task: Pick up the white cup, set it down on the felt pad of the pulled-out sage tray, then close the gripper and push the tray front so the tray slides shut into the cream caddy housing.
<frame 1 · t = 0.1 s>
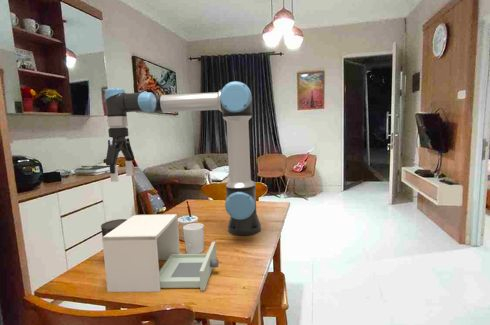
hand: (122, 178, 128), 28 cm above the table, fingers open, 13 cm apart
white cup: (195, 251, 119), on the table
caddy housing: (147, 273, 102), on the table
tray: (190, 263, 101), point 3 cm above the table, slide at 12.0 cm
coffee can: (119, 260, 114), on the table
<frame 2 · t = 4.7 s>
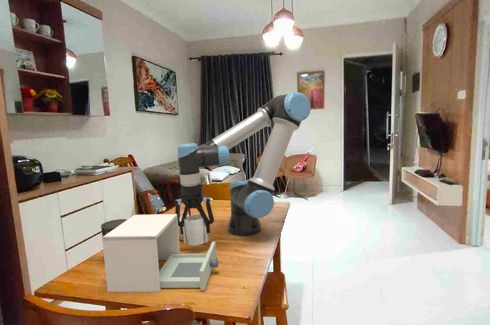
hand: (196, 241, 119), 4 cm above the table, fingers closed on white cup, 8 cm apart
white cup: (196, 242, 119), point 3 cm above the table, touching gripper
everything else where it was.
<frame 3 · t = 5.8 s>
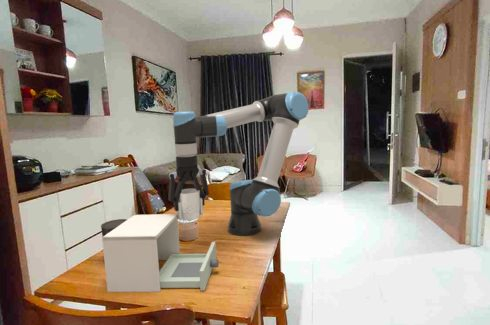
hand: (190, 216, 112), 15 cm above the table, fingers closed on white cup, 8 cm apart
white cup: (190, 218, 113), point 15 cm above the table, touching gripper
everything else where it was.
when the fingers open (3 cm above the table, at t = 8.8 s): white cup stays where it is, resting on tray.
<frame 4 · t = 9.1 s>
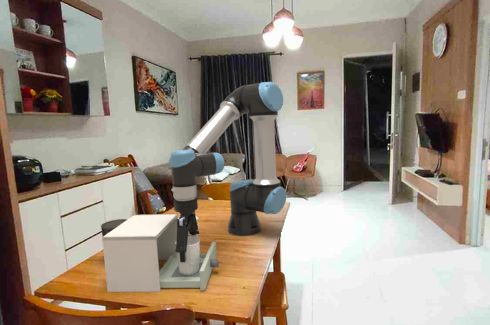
hand: (189, 261, 101), 4 cm above the table, fingers open, 12 cm apart
white cup: (189, 270, 101), point 1 cm above the table, touching tray
tray: (190, 263, 101), point 3 cm above the table, slide at 12.0 cm, touching white cup
everything else where it was.
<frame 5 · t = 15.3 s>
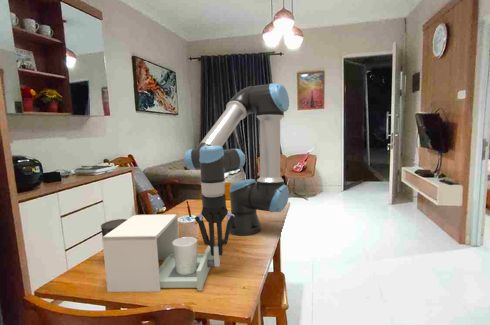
hand: (217, 264, 100), 3 cm above the table, fingers closed
tray: (187, 263, 101), point 3 cm above the table, slide at 11.1 cm, touching white cup, gripper
everything else where it was.
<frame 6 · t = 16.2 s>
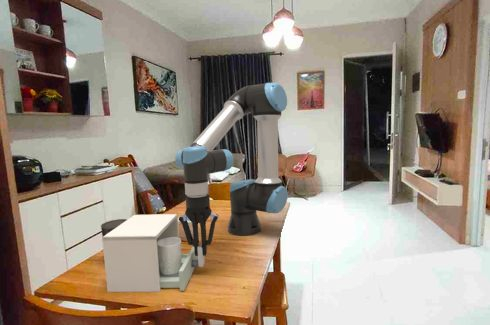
hand: (201, 264, 101), 3 cm above the table, fingers closed
white cup: (171, 271, 101), point 1 cm above the table, touching tray
tray: (171, 263, 101), point 3 cm above the table, slide at 5.8 cm, touching white cup, gripper
everything else where it was.
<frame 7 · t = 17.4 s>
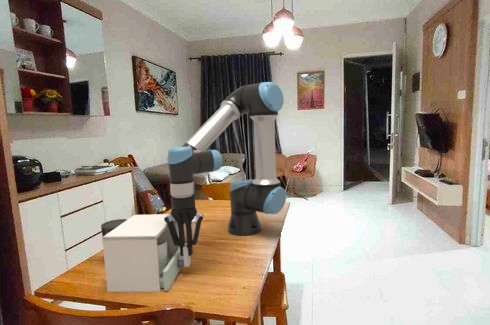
hand: (187, 264, 101), 3 cm above the table, fingers closed
white cup: (157, 271, 101), point 1 cm above the table, touching tray
tray: (157, 263, 102), point 3 cm above the table, slide at 1.1 cm, touching white cup, gripper
everything else where it was.
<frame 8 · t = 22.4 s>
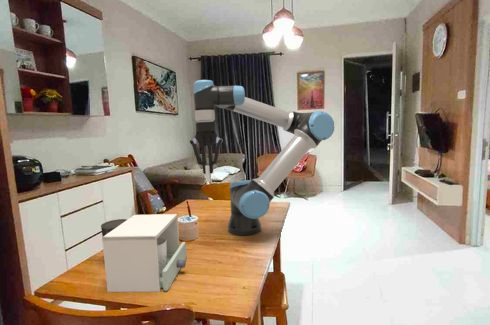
hand: (208, 181, 121), 26 cm above the table, fingers closed
tray: (157, 263, 102), point 3 cm above the table, slide at 0.9 cm, touching white cup
everything else where it was.
at the end: tray slide at 0.9 cm; white cup inside the target area on the caddy housing (3.4 cm from its centre), point 1.1 cm above the caddy housing's base; white cup tilted 0° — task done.
